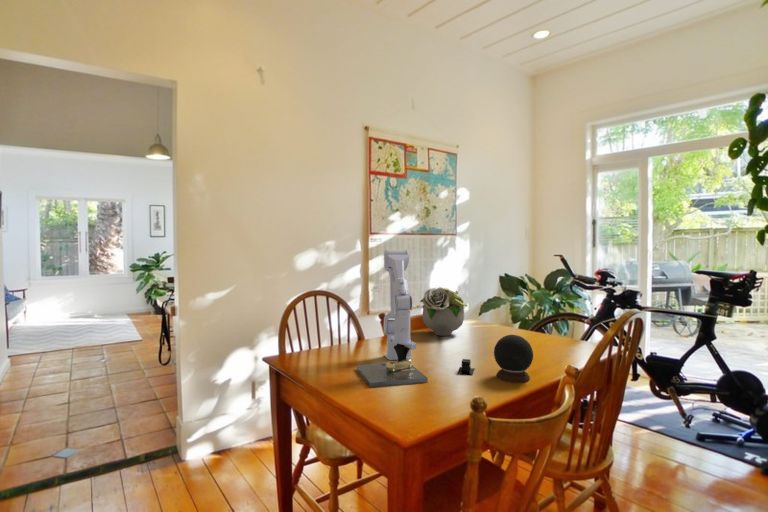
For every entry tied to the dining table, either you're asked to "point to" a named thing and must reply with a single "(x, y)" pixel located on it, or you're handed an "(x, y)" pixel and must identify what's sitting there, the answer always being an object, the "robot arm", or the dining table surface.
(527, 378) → the spherical smart speaker
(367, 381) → the lock plate
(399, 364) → the lever
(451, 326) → the flower arrangement
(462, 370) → the black block on base
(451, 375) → the dining table surface
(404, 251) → the robot arm
